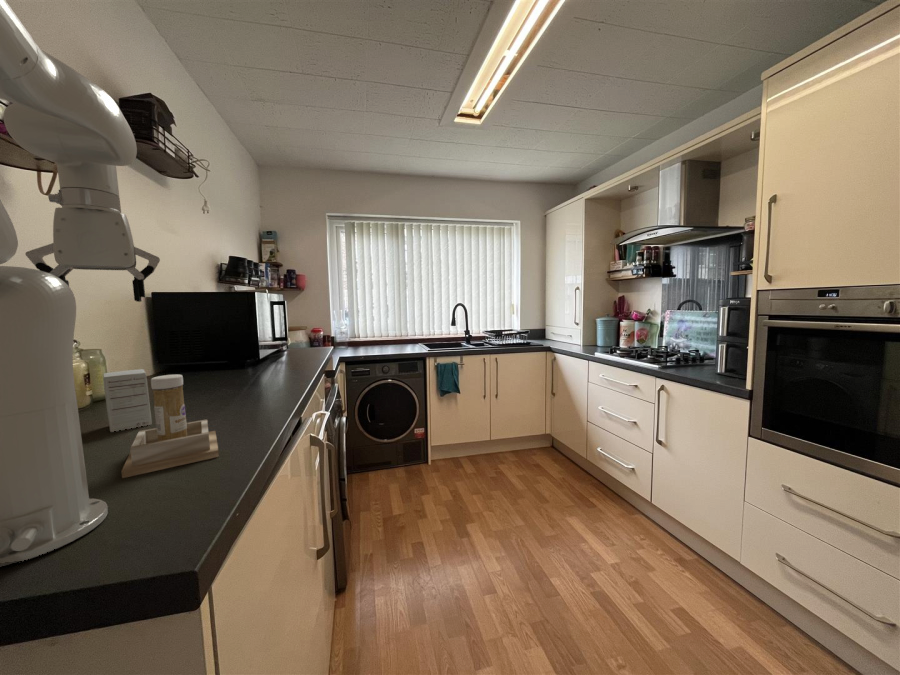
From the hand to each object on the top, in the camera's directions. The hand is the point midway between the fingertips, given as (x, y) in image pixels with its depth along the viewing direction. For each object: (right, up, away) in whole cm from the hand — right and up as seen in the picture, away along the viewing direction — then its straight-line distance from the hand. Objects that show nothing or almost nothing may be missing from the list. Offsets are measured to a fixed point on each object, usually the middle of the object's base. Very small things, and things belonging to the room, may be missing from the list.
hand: (103, 301), depth 66 cm
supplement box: (-12, -27, +19) cm, 35 cm away
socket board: (+12, -28, +1) cm, 31 cm away
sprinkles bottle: (+12, -27, +1) cm, 30 cm away
